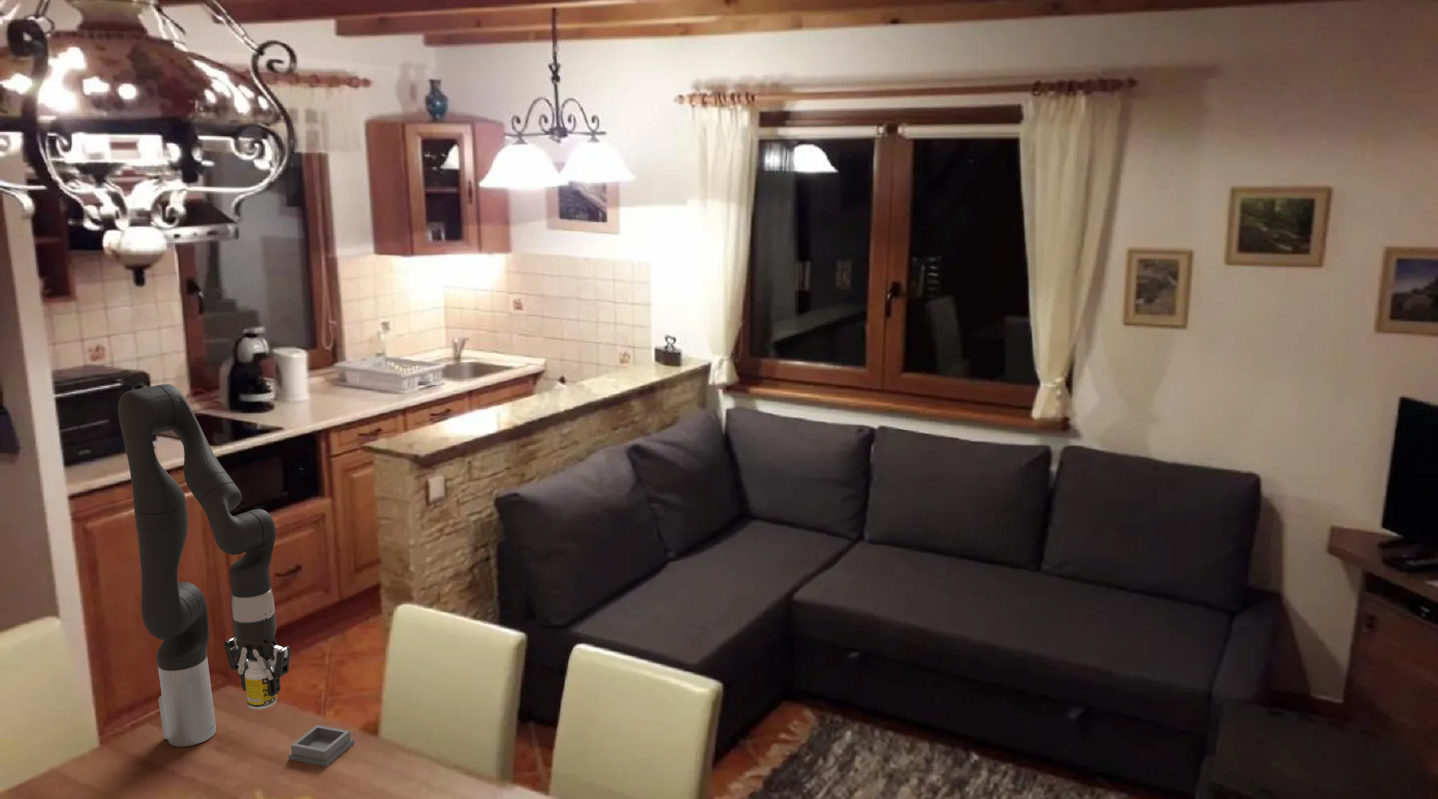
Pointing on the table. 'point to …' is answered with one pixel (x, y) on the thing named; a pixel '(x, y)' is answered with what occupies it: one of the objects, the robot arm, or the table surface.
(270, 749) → the table surface
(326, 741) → the square open box
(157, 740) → the table surface
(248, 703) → the supplement bottle
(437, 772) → the table surface
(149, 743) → the table surface
